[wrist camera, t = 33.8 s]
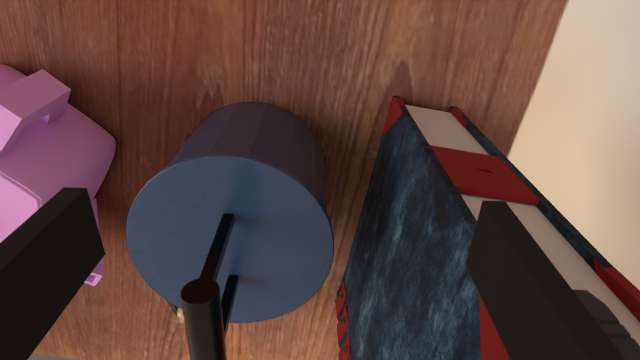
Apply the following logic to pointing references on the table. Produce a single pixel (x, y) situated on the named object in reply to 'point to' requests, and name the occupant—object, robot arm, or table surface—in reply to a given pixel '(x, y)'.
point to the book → (448, 245)
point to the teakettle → (46, 149)
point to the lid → (229, 243)
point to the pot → (261, 141)
